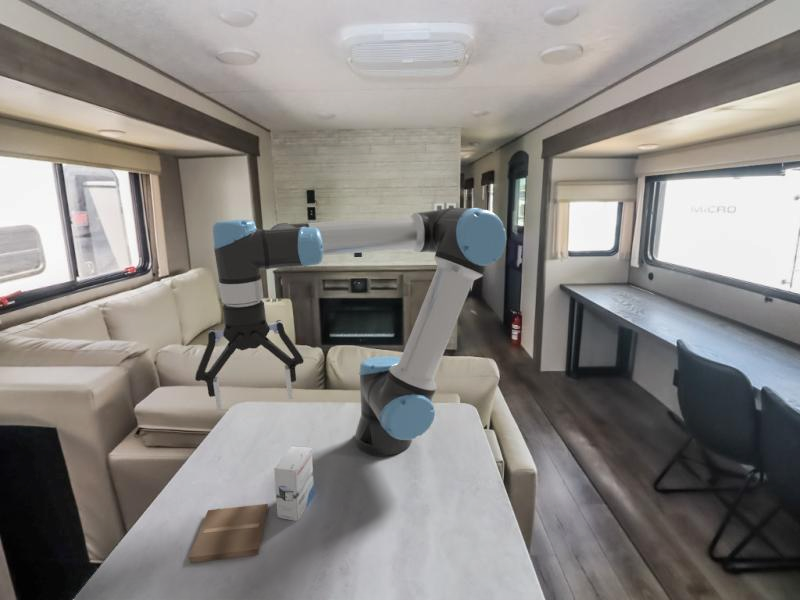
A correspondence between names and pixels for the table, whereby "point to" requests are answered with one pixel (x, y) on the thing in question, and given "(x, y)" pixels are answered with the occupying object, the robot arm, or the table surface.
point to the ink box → (294, 482)
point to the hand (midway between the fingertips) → (255, 403)
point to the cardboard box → (230, 533)
